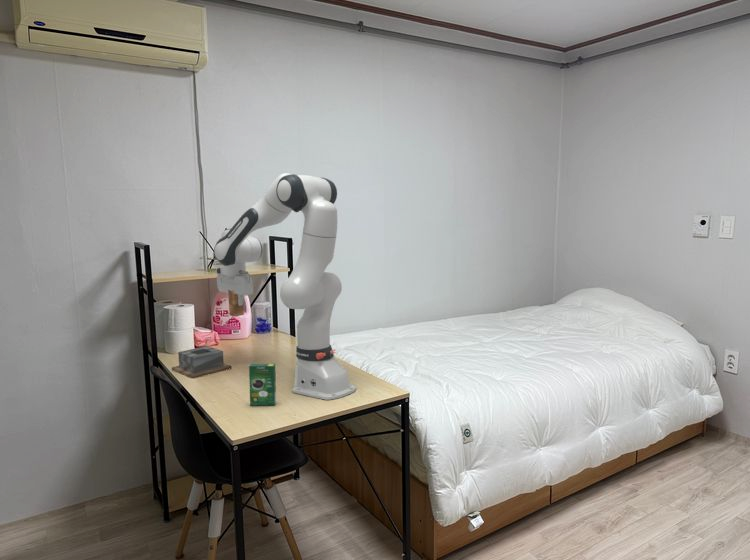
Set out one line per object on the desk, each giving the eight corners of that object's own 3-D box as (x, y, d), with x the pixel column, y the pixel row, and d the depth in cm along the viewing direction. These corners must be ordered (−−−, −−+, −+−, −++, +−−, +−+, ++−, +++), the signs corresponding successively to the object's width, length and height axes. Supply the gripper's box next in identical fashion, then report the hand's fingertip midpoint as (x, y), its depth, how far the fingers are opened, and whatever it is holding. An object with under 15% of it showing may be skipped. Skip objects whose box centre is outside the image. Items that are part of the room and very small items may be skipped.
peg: (243, 314, 205) (242, 289, 204) (235, 316, 202) (233, 291, 201) (238, 313, 208) (236, 289, 207) (229, 315, 205) (228, 290, 204)
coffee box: (277, 402, 165) (275, 362, 163) (275, 406, 162) (274, 365, 160) (252, 403, 165) (250, 362, 163) (249, 406, 162) (247, 365, 160)
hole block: (231, 368, 201) (230, 350, 200) (192, 378, 189) (191, 360, 188) (209, 360, 212) (208, 344, 211) (171, 369, 200) (170, 352, 199)
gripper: (256, 270, 198) (258, 306, 200) (227, 267, 212) (229, 301, 214) (242, 272, 194) (244, 308, 195) (213, 269, 207) (215, 303, 209)
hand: (236, 304), depth 205 cm, fingers closed on peg, 4 cm apart
